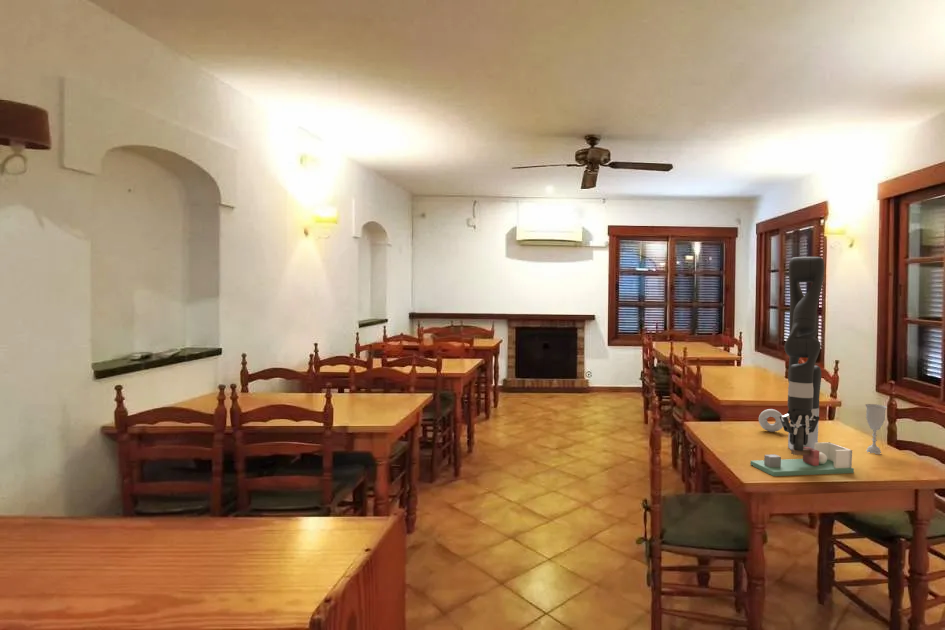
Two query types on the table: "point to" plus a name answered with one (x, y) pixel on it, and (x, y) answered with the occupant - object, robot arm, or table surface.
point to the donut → (764, 417)
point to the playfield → (795, 467)
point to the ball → (822, 458)
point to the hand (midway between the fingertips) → (798, 444)
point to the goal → (835, 454)
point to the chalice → (875, 423)
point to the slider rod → (805, 449)
